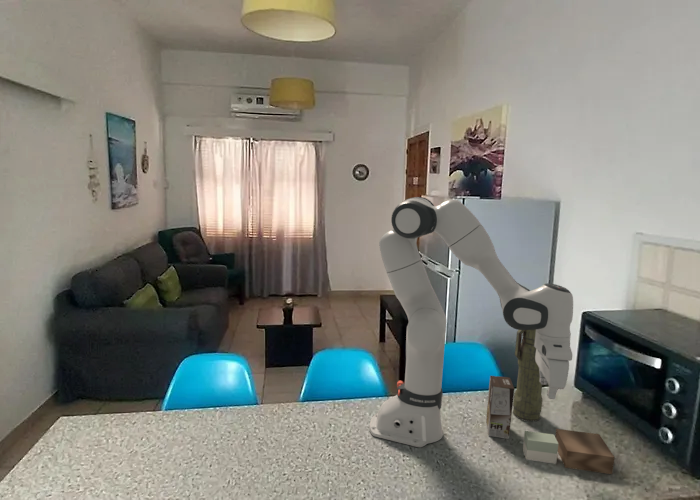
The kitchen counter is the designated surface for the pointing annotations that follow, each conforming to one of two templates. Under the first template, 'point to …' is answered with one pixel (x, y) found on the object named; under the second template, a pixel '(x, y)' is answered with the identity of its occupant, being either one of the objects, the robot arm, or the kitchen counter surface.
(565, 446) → the walnut stand
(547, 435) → the block
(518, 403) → the thermos
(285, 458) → the kitchen counter surface
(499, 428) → the coffee box
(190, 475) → the kitchen counter surface
